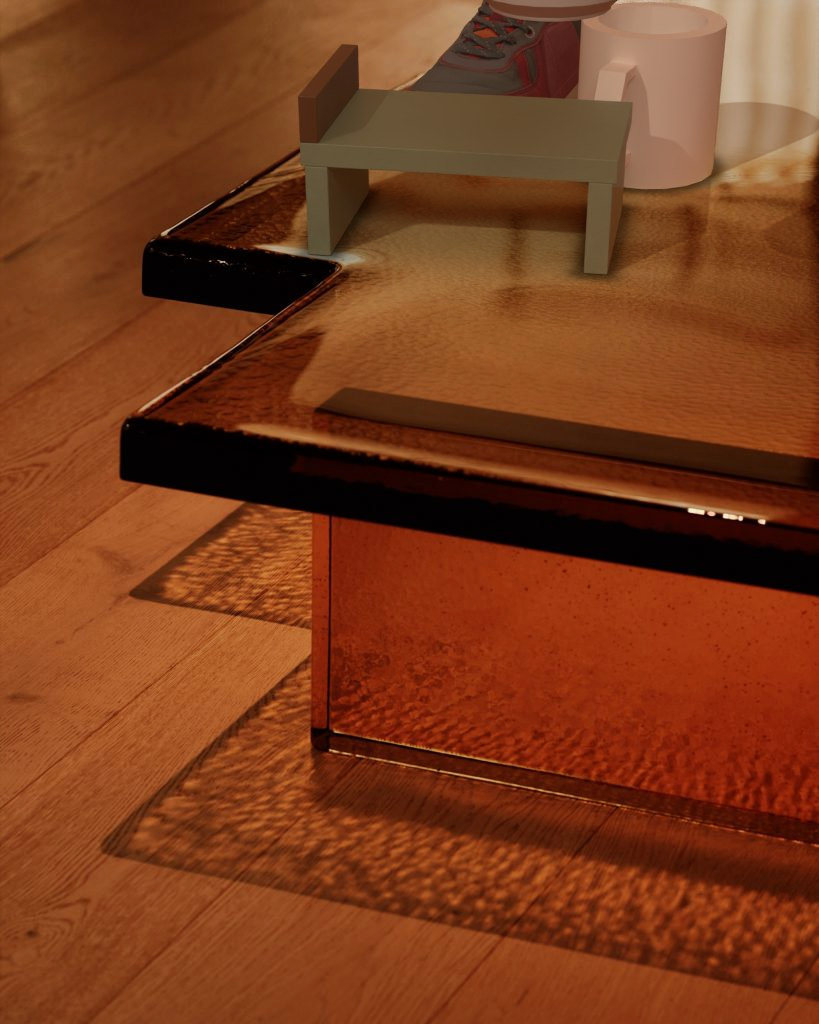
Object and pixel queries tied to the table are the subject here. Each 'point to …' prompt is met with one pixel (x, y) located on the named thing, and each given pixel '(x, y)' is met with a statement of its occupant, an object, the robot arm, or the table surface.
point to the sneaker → (508, 59)
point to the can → (551, 9)
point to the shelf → (454, 147)
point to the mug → (658, 85)
